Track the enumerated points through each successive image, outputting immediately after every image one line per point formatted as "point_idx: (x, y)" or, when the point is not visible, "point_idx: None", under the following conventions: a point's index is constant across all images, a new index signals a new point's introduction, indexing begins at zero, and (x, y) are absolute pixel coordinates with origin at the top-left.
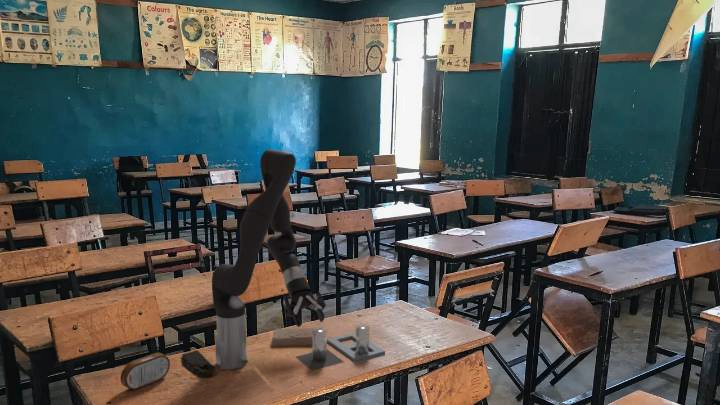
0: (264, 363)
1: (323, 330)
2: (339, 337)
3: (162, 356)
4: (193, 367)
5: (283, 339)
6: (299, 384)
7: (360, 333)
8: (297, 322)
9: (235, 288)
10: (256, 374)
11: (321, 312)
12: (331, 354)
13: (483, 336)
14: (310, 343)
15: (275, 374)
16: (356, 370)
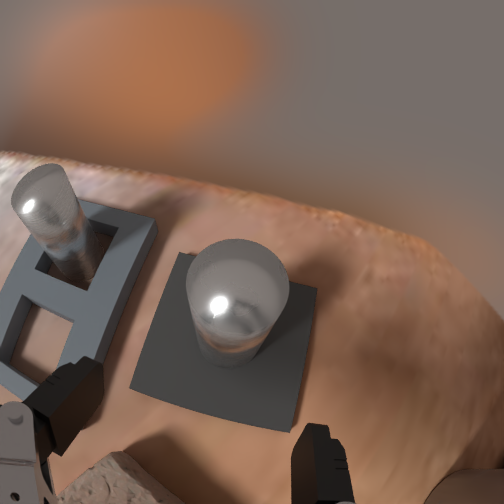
0: (391, 470)
1: (217, 262)
2: (27, 394)
3: None
4: None
5: None
6: (379, 268)
7: (71, 187)
8: (337, 447)
9: None
10: (444, 407)
11: (51, 390)
12: (158, 332)
13: None
14: (146, 477)
15: (406, 372)
16: (188, 207)
